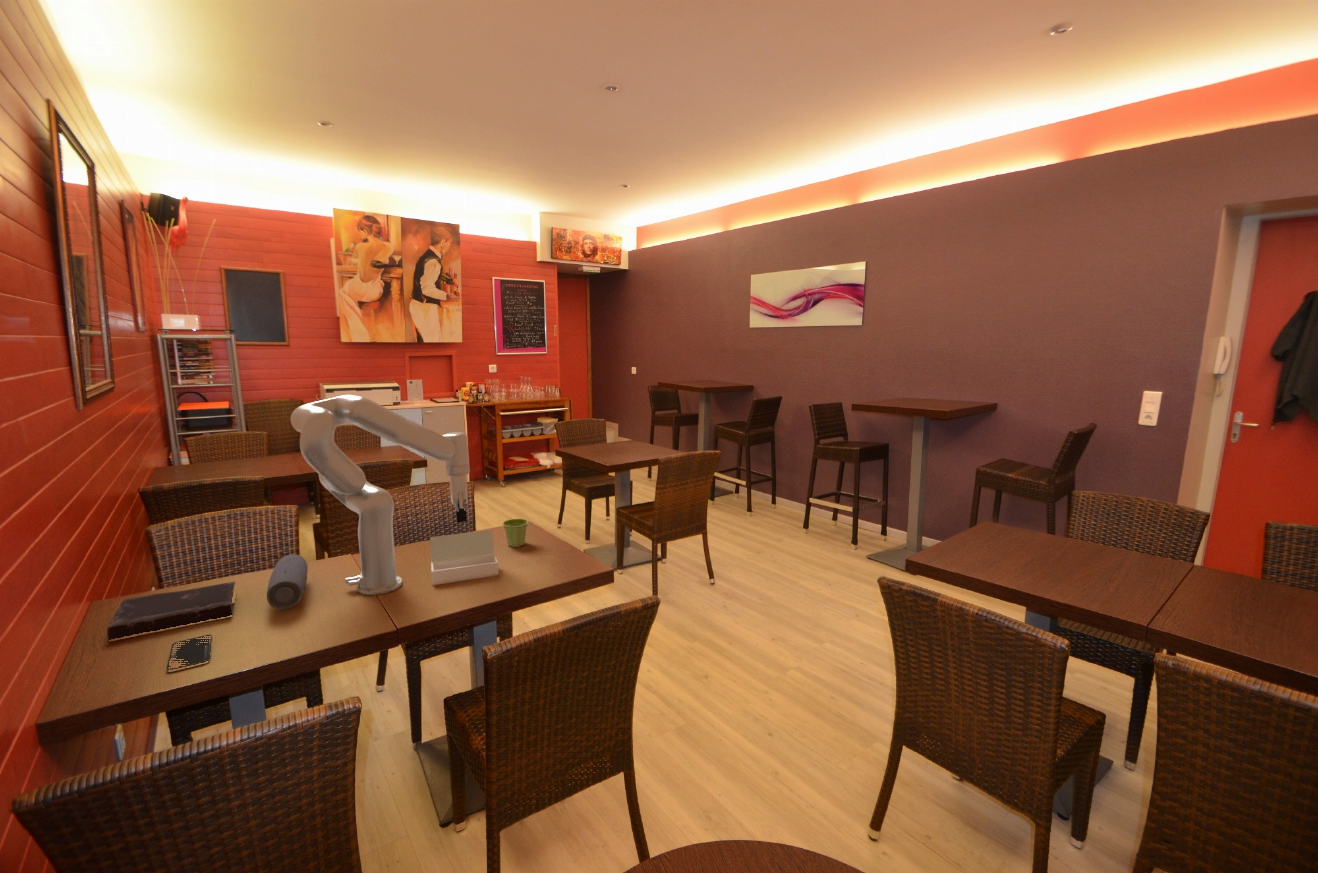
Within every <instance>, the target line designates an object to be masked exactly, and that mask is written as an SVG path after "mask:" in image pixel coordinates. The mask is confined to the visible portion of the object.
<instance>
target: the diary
mask: <svg viewBox="0 0 1318 873" xmlns="http://www.w3.org/2000/svg"><path fill="white" fill-rule="evenodd" d="M235 586H236V581H230V582H224V583H218V584H213V585H207V586H201V587H197V588H190V589H184V590H177V591H170V592H161V593H153V594H152V593H151V594H148V595H142V596H135V597H131V598H125V599H122V601H121V602H120V604H119V606H118V607H117V609H116V610H115V612H114V615H113V617H112V618H111V620H110V622H109V624H108V626H107V628H106V630H107V631H106V632H107V633H106V634H107V639H108V641H109V640H111V639H115V638H121V637H124V636H130V635H133V634H139V633H143V632H150V631H157V630H160V629H166V628H170V627H176V626H180V625H187V624H190V623H197V622H200V621H206V620H209V619H217V618H221V617H227V616H230V615H233V609H232V608H233V607H232V604H231V603H232V597H233V593H234V590H235ZM233 616H234V615H233Z"/></svg>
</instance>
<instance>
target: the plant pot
mask: <svg viewBox="0 0 1318 873" xmlns="http://www.w3.org/2000/svg"><path fill="white" fill-rule="evenodd" d="M528 524H529V520H528V519H525V518H510V519H508V520H504V521H503V522H502V525H503V528H504V532H505V534H506V541H507V545H509V546H508V547H512V548H518V547H522V546H524V545H525V544H526V536H527V527H528Z"/></svg>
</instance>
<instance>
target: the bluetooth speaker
mask: <svg viewBox="0 0 1318 873" xmlns="http://www.w3.org/2000/svg"><path fill="white" fill-rule="evenodd" d="M308 571H309V570H308V562H307V561H306V558H304V557H303V556H301V555H299V554H294V553H293V554H287V555H284V556H283V557H281V558H280V559H279V560H278V562H276V564H275V566H274V567H273V570H272V572H271V575H270V578H269V580H268V585H267V590H266V599H267V603H268V604H269V606H271V607H272V608H274V609H276V610H286V609H290V608H293V607H295V606H296V605H298V603H299V602H300V601H301V599H302V597H303V594H304V592H305V588H306V586H307V585H306V584H307V581H308Z"/></svg>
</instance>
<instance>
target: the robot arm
mask: <svg viewBox="0 0 1318 873" xmlns="http://www.w3.org/2000/svg"><path fill="white" fill-rule="evenodd" d="M290 424H291V426H292V428H293V429H294V430H295V431H296V432H298V433H300V436H299V448H300V453H301V456H302V457H303V459H304V461H305V462H306V463H307V464H308V465H309V466H310V467H311V468H312V469H313V470H314V471H315V472H316V473H317V474H318V478H319V479H318V480H319V482H320V484H321V485H322V486H323V487H324V489H326V490H327V491H328V492H329V493H330V494H331V495H333V496H334V498H336V499H337V500H338V501H339V502H341V504H343V505H344V506H345V507H346V508H348V509H349V511H350V510H351V511H352V512H354V513H357V515H358V518H359V519H358V526H357V538H358V547H359V548H358V549H359V550H358V551H359V559H360V574H357V575H356V576H353V577H352V576H350V577H349V576H347V577H345V578H344V579H345V585H348V586H349V587H350V586H356V592H357V593H358V594H361V595H365V594H366V596H375V595H383V594H386V593H387V594H388V593H390V592H393V591H395V590H397V589H398V588H400V587H401V586H402V584H403V578H402V577H400V576H398V575H397V568H396V567H397V566H396V556H395V555H396V554H395V541H394V540H395V539H394V529H393V528H394V527H393V518H394V508H395V504H394V499H393V497H392V495H391V494H390V493H389V492H388V491H387V490H386V489H384V488H382V487H379V486H377V485H374V484H372V483H370V481H368V480H367V478H366V475H365V472H364V471H363V470H362V468H361V467H360V466H358V465H357V464H356V463H355V462H354V461H353V459H351V458H349V456H348V455H347V454H345V453H344V451H343V450H342V449H340V448H339V446H338V445H337V444H336V442H335V432H336V429H337V427H338V426H341V425H344V424H351V425H354V426H356V427H358V428H360V429H363V430H364V431H367V432H369V433H371V434H372V435H376V436H377V437H379V438H382V439H383V440H387V441H388V442H391V443H394V444H397V445H401V446H403V447H407V448H411V449H412V450H416V451H418V453H419V455H421V456H422V457H424V458H428V459H431V460H432V459H433V460H436V461H439V462H444V463H445V472H446V473H445V474H446V476H449V488H450V491H449V492H450V501H451V504H452V505H453V506H455V508H456V510H455V514H456V515H455V516H456V517H455V518H456V522H457V523H465V522H468V518H467V509H466V504H467V503H468V479H467V475H469V474H470V473H471V471H470V470H471V469H470V468H471V467H470V456H469V455H470V454H469V443H468V434H466V433H465V432H462V431H461V432H460V431H453V432H448V433H445V434H444V433H443V434H440V433H439V432H437V431H434V430H433V429H431V428H429V427H426V426H424V425H422V424H419V423H418V422H415V421H413V420H412V419H409V418H407V417H406V416H403V415H402V414H399V413H398V412H396V411H393V410H392V409H391V410H390V409H389V408H387V407H386V406H383V405H381V404H379V403H378V402H376V401H373V400H372V399H369V398H367V397H365V396H360V395H355V394H343V395H339V396H335V397H332V398H331V397H330V398H326V399H322V400H318V401H313V402H309V403H306V404H302V405H300V406H298V407H296V408H295V409H294V410H293V411H292V413H291V415H290Z"/></svg>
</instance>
